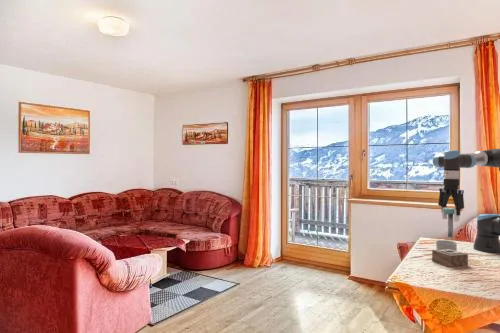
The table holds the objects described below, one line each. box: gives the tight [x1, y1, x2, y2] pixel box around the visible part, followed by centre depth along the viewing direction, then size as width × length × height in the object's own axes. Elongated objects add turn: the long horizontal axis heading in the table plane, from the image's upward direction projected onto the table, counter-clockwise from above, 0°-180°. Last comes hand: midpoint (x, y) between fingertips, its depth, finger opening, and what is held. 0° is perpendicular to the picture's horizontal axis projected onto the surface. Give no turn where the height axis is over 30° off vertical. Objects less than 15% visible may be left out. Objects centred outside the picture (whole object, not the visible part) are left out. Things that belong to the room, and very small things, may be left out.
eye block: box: [431, 249, 469, 268], centre depth 187 cm, size 12×12×6 cm
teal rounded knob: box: [443, 207, 455, 238], centre depth 187 cm, size 7×7×15 cm
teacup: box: [435, 239, 458, 251], centre depth 205 cm, size 14×11×8 cm
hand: (450, 220), depth 187 cm, fingers closed on teal rounded knob, 7 cm apart
